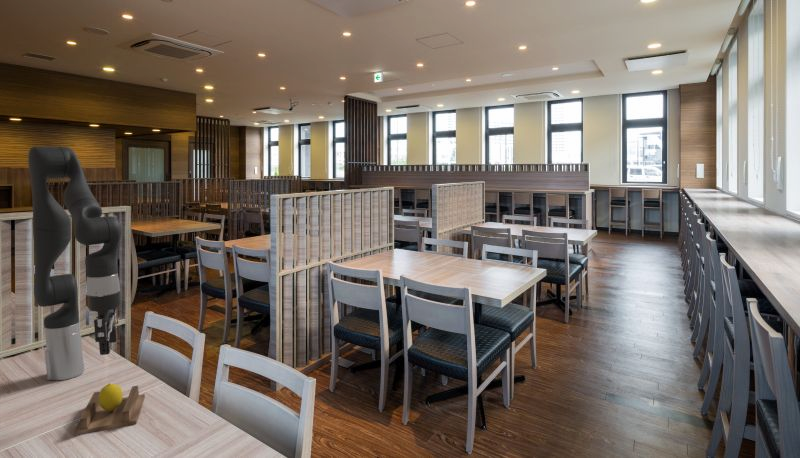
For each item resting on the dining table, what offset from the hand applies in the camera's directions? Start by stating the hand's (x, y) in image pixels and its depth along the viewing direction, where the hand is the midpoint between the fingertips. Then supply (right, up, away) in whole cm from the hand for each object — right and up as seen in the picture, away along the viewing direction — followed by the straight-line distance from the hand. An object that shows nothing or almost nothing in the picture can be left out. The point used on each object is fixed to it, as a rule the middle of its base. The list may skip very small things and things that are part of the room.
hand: (108, 348), depth 126 cm
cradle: (+1, -19, +1) cm, 19 cm away
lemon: (+1, -18, +1) cm, 18 cm away
